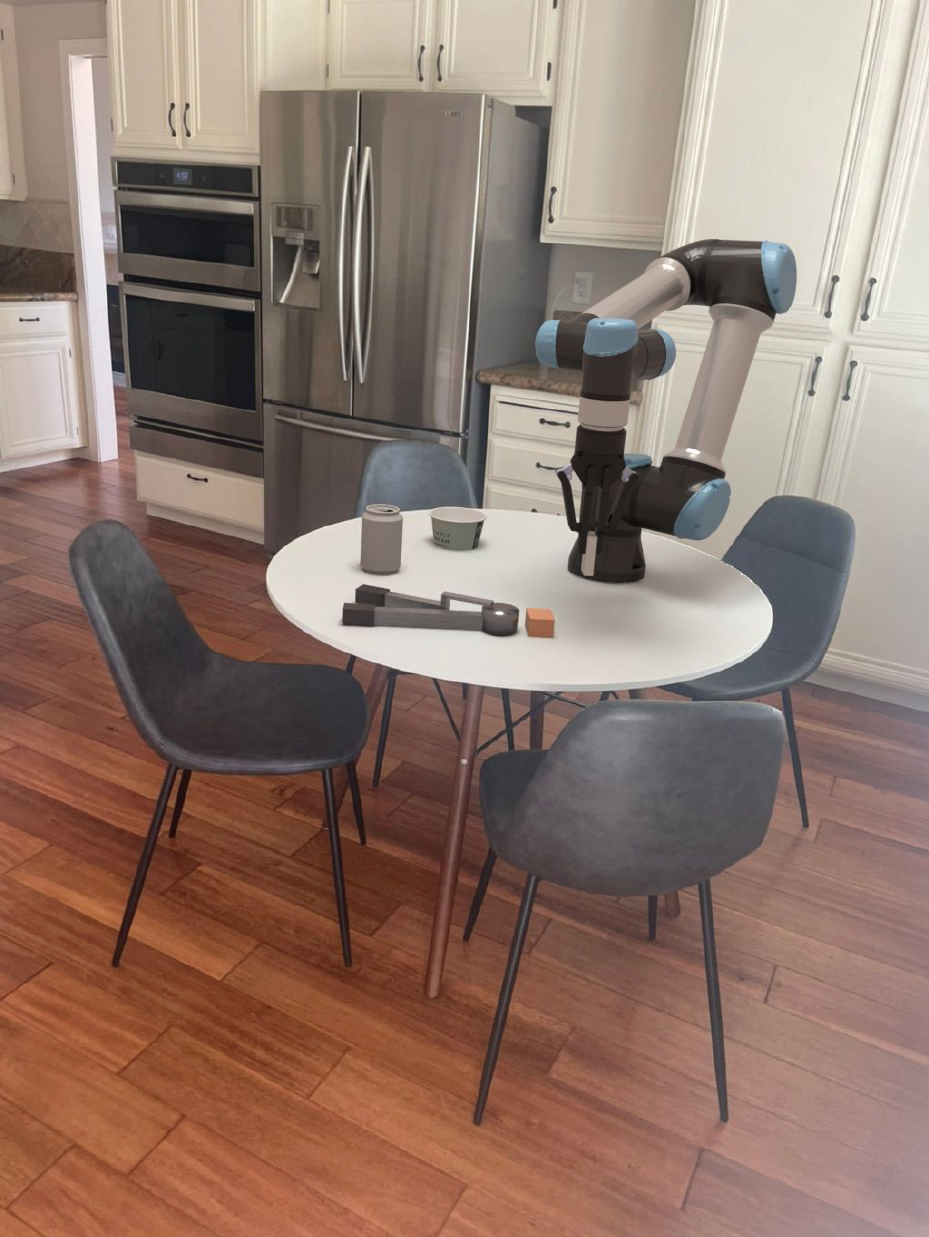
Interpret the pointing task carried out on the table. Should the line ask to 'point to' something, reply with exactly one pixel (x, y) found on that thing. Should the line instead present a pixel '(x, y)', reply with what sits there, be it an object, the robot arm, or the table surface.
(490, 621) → the tongs fixed
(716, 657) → the table surface
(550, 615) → the terracotta clay cube
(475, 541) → the food container
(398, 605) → the tongs arm
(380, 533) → the can
